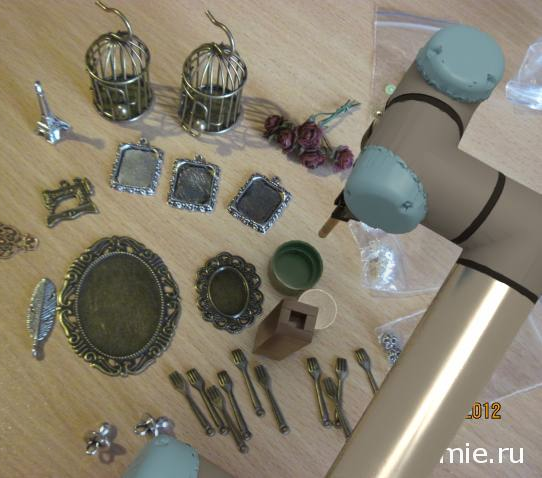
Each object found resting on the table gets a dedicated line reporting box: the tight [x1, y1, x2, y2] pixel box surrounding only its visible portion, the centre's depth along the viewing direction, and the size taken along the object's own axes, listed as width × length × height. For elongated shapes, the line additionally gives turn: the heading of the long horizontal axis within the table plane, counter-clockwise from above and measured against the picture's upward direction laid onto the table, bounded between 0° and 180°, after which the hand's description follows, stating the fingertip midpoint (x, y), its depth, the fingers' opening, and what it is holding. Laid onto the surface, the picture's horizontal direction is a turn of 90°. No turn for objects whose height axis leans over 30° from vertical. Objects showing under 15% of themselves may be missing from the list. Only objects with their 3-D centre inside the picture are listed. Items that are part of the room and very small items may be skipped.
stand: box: [251, 296, 319, 362], centre depth 101 cm, size 6×6×26 cm
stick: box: [317, 215, 341, 239], centre depth 86 cm, size 2×2×22 cm
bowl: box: [267, 239, 324, 297], centre depth 116 cm, size 11×11×6 cm
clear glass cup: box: [296, 288, 338, 333], centre depth 111 cm, size 8×8×10 cm
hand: (341, 211), depth 86 cm, fingers closed on stick, 1 cm apart
